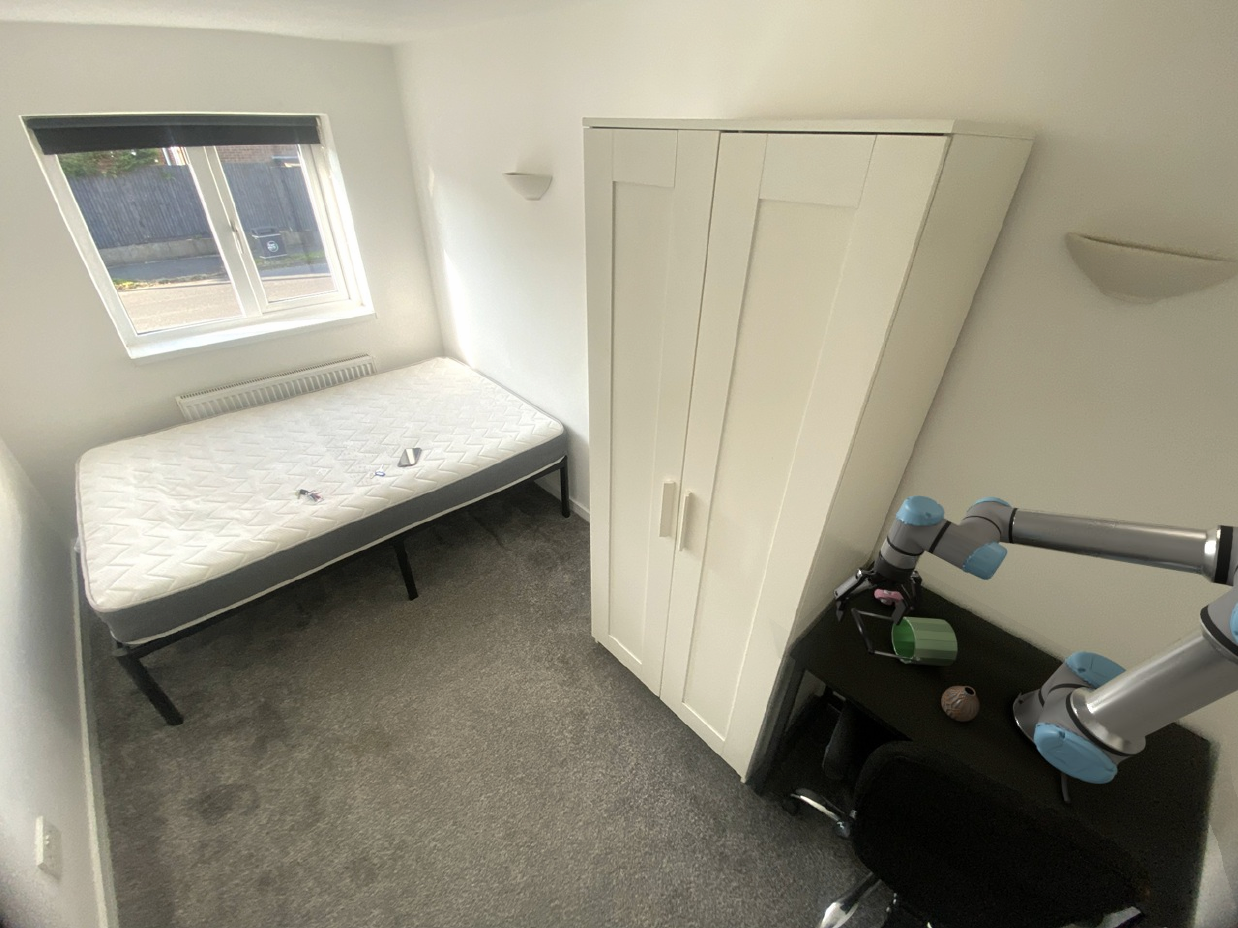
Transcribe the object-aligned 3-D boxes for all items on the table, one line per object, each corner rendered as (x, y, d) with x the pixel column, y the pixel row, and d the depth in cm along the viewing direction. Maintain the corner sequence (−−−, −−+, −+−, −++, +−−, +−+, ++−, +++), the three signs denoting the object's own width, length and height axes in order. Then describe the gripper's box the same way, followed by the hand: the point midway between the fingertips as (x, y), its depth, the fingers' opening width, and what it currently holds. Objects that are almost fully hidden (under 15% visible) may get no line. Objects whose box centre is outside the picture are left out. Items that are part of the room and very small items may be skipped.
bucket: (939, 606, 129) (854, 600, 129) (966, 652, 118) (873, 646, 118) (922, 633, 135) (841, 627, 135) (946, 679, 124) (858, 673, 124)
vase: (968, 732, 113) (985, 711, 108) (934, 714, 117) (950, 693, 111) (972, 709, 118) (989, 688, 113) (939, 692, 121) (955, 670, 116)
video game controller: (871, 604, 144) (878, 597, 138) (873, 589, 146) (881, 582, 140) (909, 615, 141) (918, 609, 135) (911, 600, 143) (920, 593, 137)
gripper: (947, 548, 113) (911, 609, 126) (835, 542, 114) (811, 603, 126) (964, 574, 107) (925, 635, 119) (846, 567, 108) (819, 629, 120)
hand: (866, 619), depth 123 cm, fingers open, 13 cm apart
